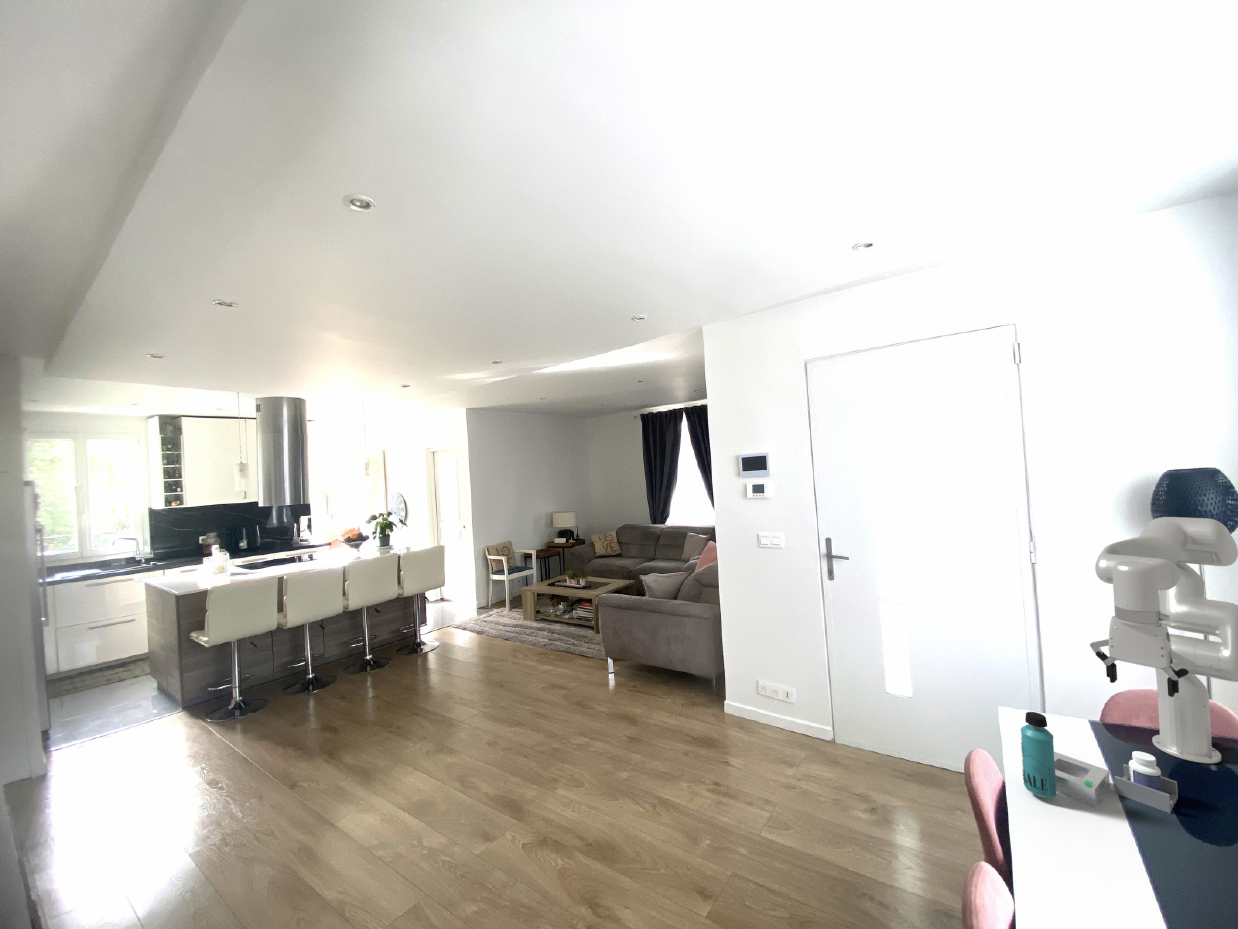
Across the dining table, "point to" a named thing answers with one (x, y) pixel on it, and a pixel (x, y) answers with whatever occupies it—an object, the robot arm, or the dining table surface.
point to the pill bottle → (1145, 770)
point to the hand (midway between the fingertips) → (1141, 687)
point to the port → (1080, 779)
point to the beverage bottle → (1038, 756)
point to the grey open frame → (1148, 792)
